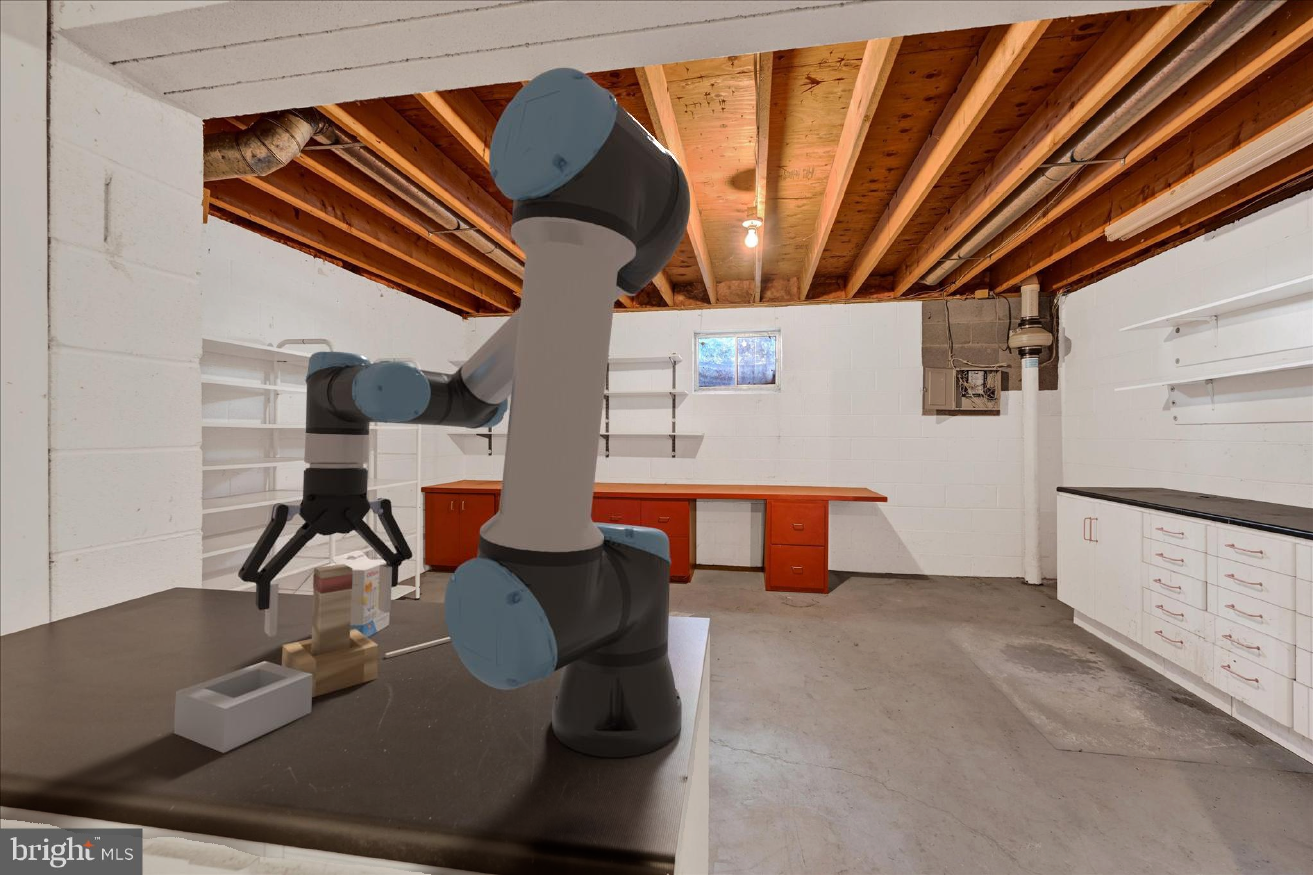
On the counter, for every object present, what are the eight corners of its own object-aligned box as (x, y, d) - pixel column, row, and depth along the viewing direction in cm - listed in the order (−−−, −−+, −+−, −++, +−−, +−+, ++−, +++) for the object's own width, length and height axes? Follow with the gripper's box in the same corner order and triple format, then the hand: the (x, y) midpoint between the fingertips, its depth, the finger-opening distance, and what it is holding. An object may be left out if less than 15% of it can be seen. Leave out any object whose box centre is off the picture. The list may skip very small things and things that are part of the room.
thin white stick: (451, 640, 85) (451, 637, 85) (386, 658, 77) (387, 654, 77) (449, 639, 85) (449, 636, 85) (385, 656, 78) (385, 653, 78)
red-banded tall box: (348, 678, 70) (352, 568, 71) (317, 687, 68) (321, 572, 68) (340, 670, 73) (344, 563, 73) (309, 678, 70) (313, 567, 70)
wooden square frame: (377, 678, 70) (378, 645, 71) (299, 701, 64) (300, 664, 64) (354, 659, 76) (355, 628, 77) (281, 678, 70) (282, 645, 70)
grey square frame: (311, 712, 61) (312, 674, 61) (223, 753, 53) (225, 708, 53) (263, 697, 65) (264, 661, 65) (174, 733, 56) (175, 691, 56)
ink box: (361, 642, 83) (364, 559, 83) (310, 641, 83) (313, 558, 84) (390, 624, 92) (392, 549, 92) (343, 623, 92) (346, 548, 92)
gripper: (417, 464, 83) (413, 597, 82) (214, 465, 64) (207, 637, 64) (438, 466, 78) (434, 607, 77) (224, 468, 59) (216, 654, 59)
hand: (331, 621), depth 70 cm, fingers open, 13 cm apart
